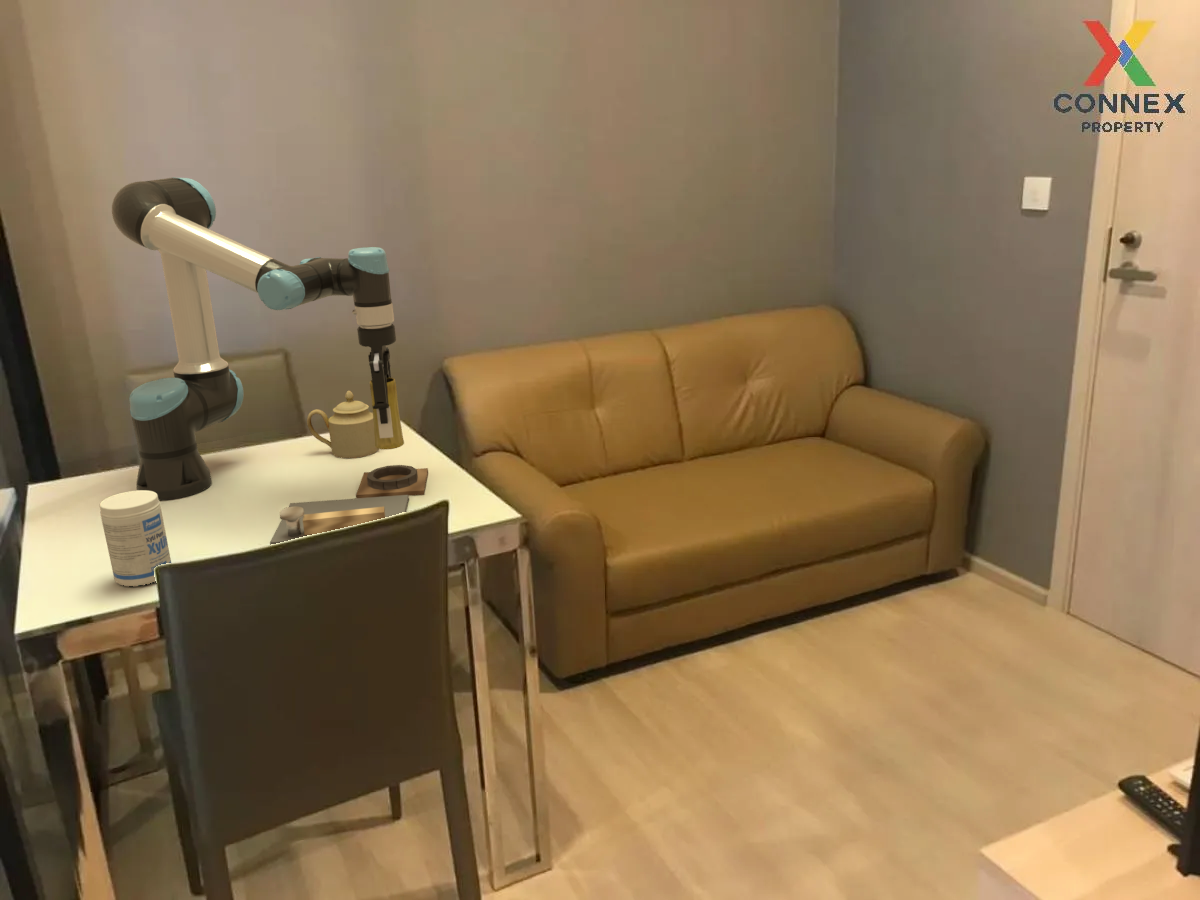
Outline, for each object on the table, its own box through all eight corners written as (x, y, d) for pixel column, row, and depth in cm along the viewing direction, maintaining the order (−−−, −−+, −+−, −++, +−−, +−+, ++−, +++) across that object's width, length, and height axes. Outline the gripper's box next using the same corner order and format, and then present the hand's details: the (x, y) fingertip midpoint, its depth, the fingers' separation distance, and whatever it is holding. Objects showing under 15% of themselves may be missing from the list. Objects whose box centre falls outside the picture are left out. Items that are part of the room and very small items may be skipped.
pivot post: (287, 537, 189) (284, 519, 188) (289, 532, 191) (286, 514, 190) (300, 536, 189) (297, 518, 188) (302, 531, 192) (299, 513, 190)
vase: (407, 440, 216) (400, 376, 212) (399, 449, 210) (392, 383, 206) (380, 440, 217) (372, 376, 212) (371, 450, 211) (363, 384, 207)
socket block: (356, 499, 209) (354, 486, 209) (364, 476, 223) (363, 464, 222) (424, 494, 211) (422, 482, 210) (428, 472, 224) (427, 460, 223)
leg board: (270, 547, 188) (269, 542, 187) (291, 507, 206) (290, 503, 206) (400, 537, 190) (399, 532, 189) (408, 499, 208) (408, 494, 208)
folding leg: (281, 539, 188) (277, 516, 186) (283, 530, 192) (280, 507, 191) (385, 528, 191) (382, 505, 190) (385, 519, 195) (383, 497, 194)
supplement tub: (168, 584, 174) (152, 505, 169) (109, 592, 172) (92, 512, 167) (177, 561, 183) (162, 486, 178) (121, 568, 181) (105, 492, 176)
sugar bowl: (326, 465, 231) (318, 402, 226) (309, 454, 239) (301, 393, 235) (386, 451, 239) (380, 390, 234) (368, 440, 247) (361, 381, 243)
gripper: (362, 317, 214) (375, 421, 221) (350, 335, 196) (364, 447, 204) (398, 315, 214) (409, 419, 222) (389, 332, 197) (402, 445, 204)
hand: (388, 432), depth 213 cm, fingers closed on vase, 6 cm apart
